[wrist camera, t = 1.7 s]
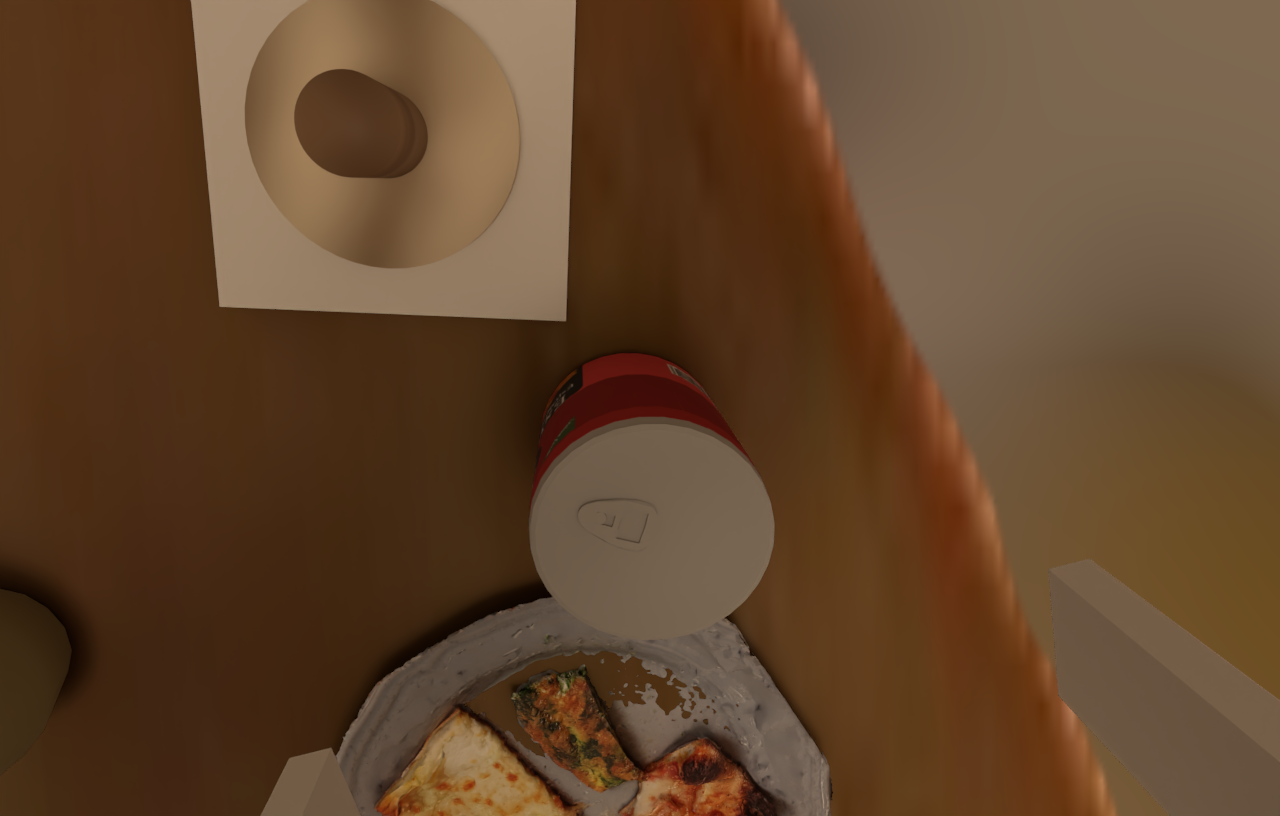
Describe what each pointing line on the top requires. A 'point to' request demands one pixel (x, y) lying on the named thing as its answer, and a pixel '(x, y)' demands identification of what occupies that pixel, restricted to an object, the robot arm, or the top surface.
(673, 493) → the canned food
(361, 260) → the lid
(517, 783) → the food plate
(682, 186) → the top surface
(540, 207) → the mat
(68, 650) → the squeeze bottle
